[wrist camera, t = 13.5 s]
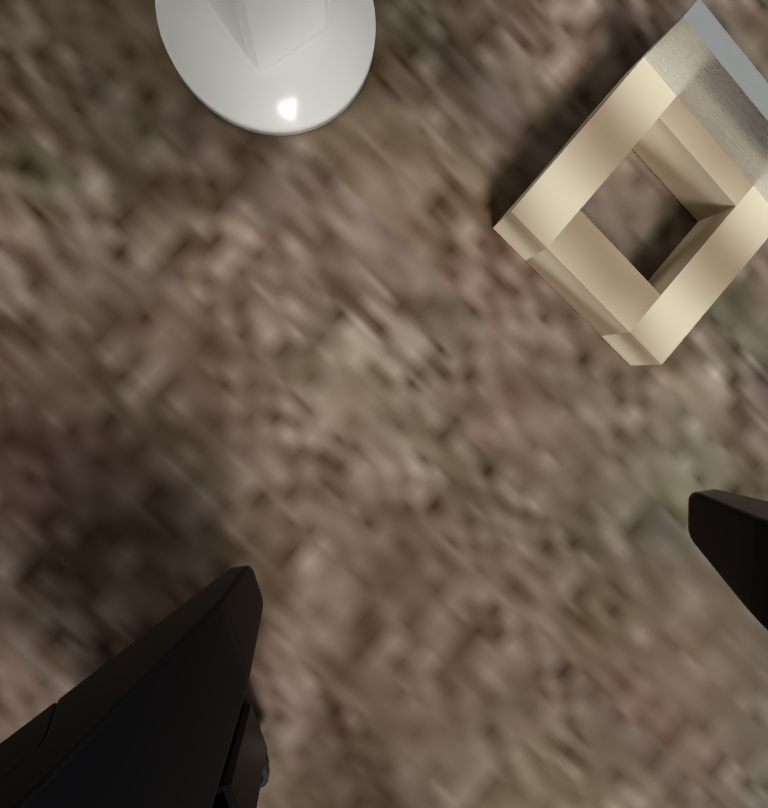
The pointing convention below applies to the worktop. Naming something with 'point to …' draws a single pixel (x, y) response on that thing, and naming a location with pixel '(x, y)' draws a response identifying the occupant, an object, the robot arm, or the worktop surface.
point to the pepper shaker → (272, 26)
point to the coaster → (281, 84)
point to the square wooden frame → (677, 169)
